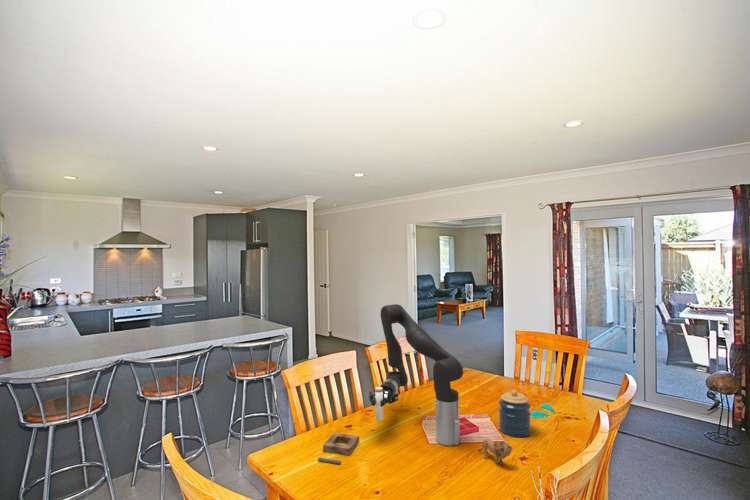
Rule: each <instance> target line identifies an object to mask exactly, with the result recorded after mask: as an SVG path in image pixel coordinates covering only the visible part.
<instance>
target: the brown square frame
mask: <svg viewBox="0 0 750 500" xmlns="http://www.w3.org/2000/svg"><path fill="white" fill-rule="evenodd" d="M359 443H360V435H354V434H347V433H340V432H333V433H332V435H331V436H330V437H329V438H328V439H327V440H326V441H325V442H324V443H323V445H322V452H324V453H331V454H336V455H342V456H343V455H344V456H351V454H352V453H353V452H354V450H355V449H356V448H357V446H358V445H359Z"/></svg>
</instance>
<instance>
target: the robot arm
mask: <svg viewBox="0 0 750 500" xmlns="http://www.w3.org/2000/svg"><path fill="white" fill-rule="evenodd" d="M380 320H381V325H382V331H383V333H384V339H385V342H386V349H387V361H388V366H389V367H391V368H393V369H396V370H397V371H394V370H392V371H388V372H387V373H386V375H385V376H386V377H385V380H384V381H383V382H382V383H381V384H380V385H379V387H382V388H383V399H382V400H381V407H383V408H384V406H385V405H387V404H389V405H391V404H394V403H396V402H398V401H399V393H397V392H398V391H399V390H400V388H401V387H406V386H407V385H408V382H409V379H408V374H407V372H406V369H405V366H404V362H403V361H404V360H403V349H402V346H401V344H400V342H399V341H398V338H397V337H396V336H395V334H394V331H393V324H399V325H401V327H403V328H404V331H405V339H406V341H407V343H408V344H409V346H411V347H412V349H413V350H414V351H416V352H417V353H418V354H421V355H422V356H424V357H426V358H429V359H431V360H432V361H435V362H434V364H433V368H432V369H433V370H432V373H433V375H432V376H433V377H432V378H433V390H434V394H435V431H436V432H435V440H436V442H437V443H438V444H439V445H442V446H449V447H450V446H459V443H460V415H459V414H460V413H459V412H460V411H459V410H460V409H459V408H460V407H459V400H460V398H459V397H460V396H459V391H457V389H455V388H451V382H455V381H458V380H460V379H462V377H463V376H464V368H463V365H462V364H461V362H460V361H459V360H458V359H457V358H456V357H454V356H453V355H452V354H451V353H450V352H448V351H447V350H445V348H443V347H442V346H441V345H440V344H439V343H438V342H437V341H436V340H435V339H433V338H432V336H430V335H429V333H428V332H426V331H425V329H423V328H422V326H420V325H419V324H418V323H417V322H416V321H415V320H414V319H413V318H412V317H411V316H410V314H409V313H408V312H407V311H406V309H405V308H404V307H403V306H402V305H401V304H398V303H397V304H386V305H384V306H382V307H381V308H380ZM368 400H369V402H370V403H371V405H372V407H375V406H376V398H375V392H372V391H370V390H369V391H368Z"/></svg>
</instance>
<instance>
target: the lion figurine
mask: <svg viewBox="0 0 750 500" xmlns="http://www.w3.org/2000/svg"><path fill="white" fill-rule="evenodd" d="M482 441H483V442H482V446H481V448H479V449H478V450H477V451H478V452H481V451H483V458H484V460H485V459H486V460H487V459H488V456H487V454H488V453H489V452H490V453H491V454H493V455H494V456H495V465H496V466H495V467H500V466H501V465H503V464H504V461H503V460H504V459H505V458H506V457H508V456H510V455H511V453H512V451H513V446H512V445H510V442H509V441H507V440H503V441H500V442H494V441H492V440H491V438H488V437H485V438H484V439H483V440H482ZM488 451H489V452H488Z"/></svg>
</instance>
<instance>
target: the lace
mask: <svg viewBox="0 0 750 500" xmlns="http://www.w3.org/2000/svg"><path fill="white" fill-rule="evenodd" d="M317 461H319V462H325V463H331V464H335V465H336V464H337V465H341V464H342V461H341V460H339V459H333V458H329V457H327V458H326V457H320V456H319V457H318V458H317Z"/></svg>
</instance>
